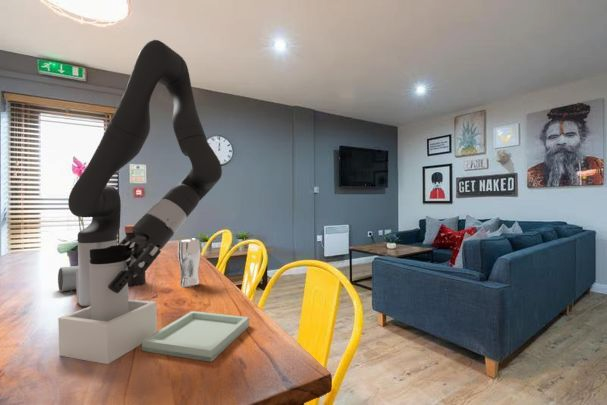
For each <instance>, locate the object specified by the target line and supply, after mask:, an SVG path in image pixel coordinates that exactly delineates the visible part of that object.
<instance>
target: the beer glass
mask: <svg viewBox="0 0 607 405" xmlns="http://www.w3.org/2000/svg"><path fill="white" fill-rule="evenodd" d="M177 242H178V243H177V245H178V246H177V257H178V258H177V260H178V263H179V271H180V281H179V286H180V287H181V288H193V287H195V285H197V286H199V285H200V279H199V267H200V266H199V265H200V260H201V259H200V258H201V245H200V239H199V238H185V239H179V240H178V241H177ZM192 286H193V287H192Z"/></svg>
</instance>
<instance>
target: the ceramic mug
mask: <svg viewBox="0 0 607 405" xmlns="http://www.w3.org/2000/svg"><path fill="white" fill-rule="evenodd" d="M77 269H78V265H74V266H73V265H72V266H61V267H60V268H59V269H58V272H57V287H58V291H59V292H60V293H63V292H64V293H65V292H69V291H74V290H77V288H76V270H77Z"/></svg>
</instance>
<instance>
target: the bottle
mask: <svg viewBox="0 0 607 405" xmlns="http://www.w3.org/2000/svg"><path fill="white" fill-rule="evenodd" d="M134 225H135V224H131V225H125V226H124V235H125V237H124V238H123V239H127V240H128V241H130V240H132V239H133V238H134V237H135V235H134V234H133V232H132V227H133V226H134ZM144 265H145V263H144ZM141 268H142V267H141ZM146 280H147V279H146V271H145V272H144V274H143V275H141V276H140V275H138V274H137V275H136V276H135V277H133V276H132V278H131V279H130V280H129V282H128V288H129V287H132V288H133V287H138V285H139V286H141V285H144V284H145V283H146Z"/></svg>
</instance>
